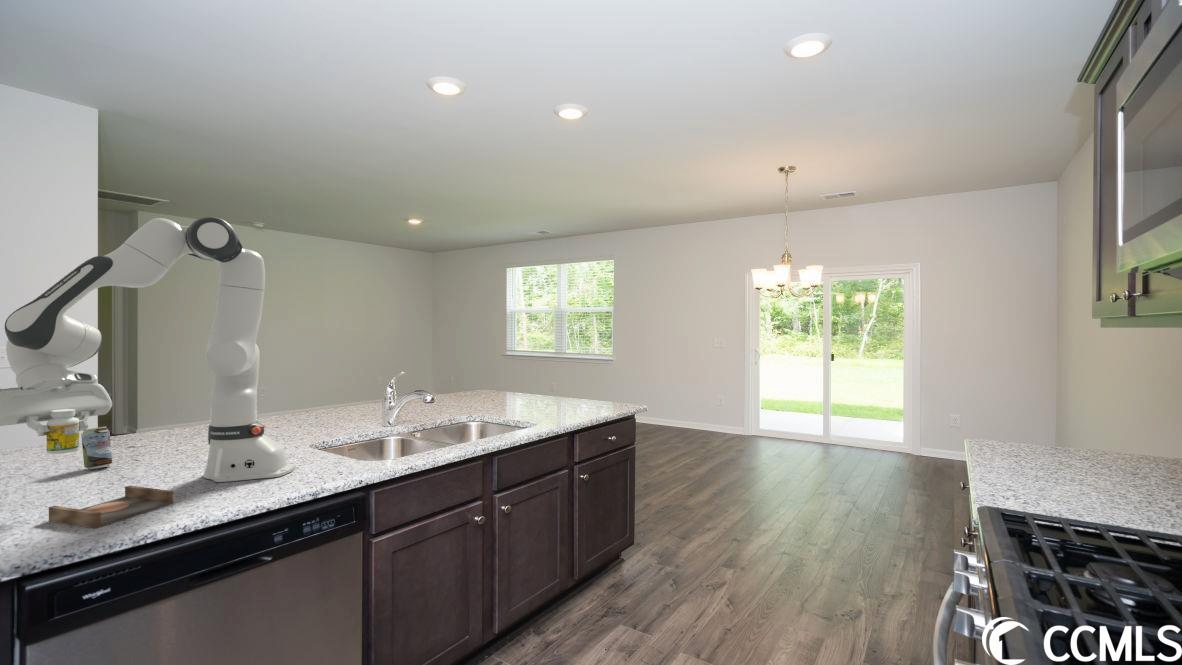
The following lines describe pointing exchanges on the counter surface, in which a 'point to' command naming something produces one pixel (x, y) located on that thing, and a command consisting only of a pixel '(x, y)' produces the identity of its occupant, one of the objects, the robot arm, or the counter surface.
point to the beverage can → (96, 448)
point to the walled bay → (114, 508)
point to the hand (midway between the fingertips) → (64, 431)
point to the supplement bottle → (63, 432)
